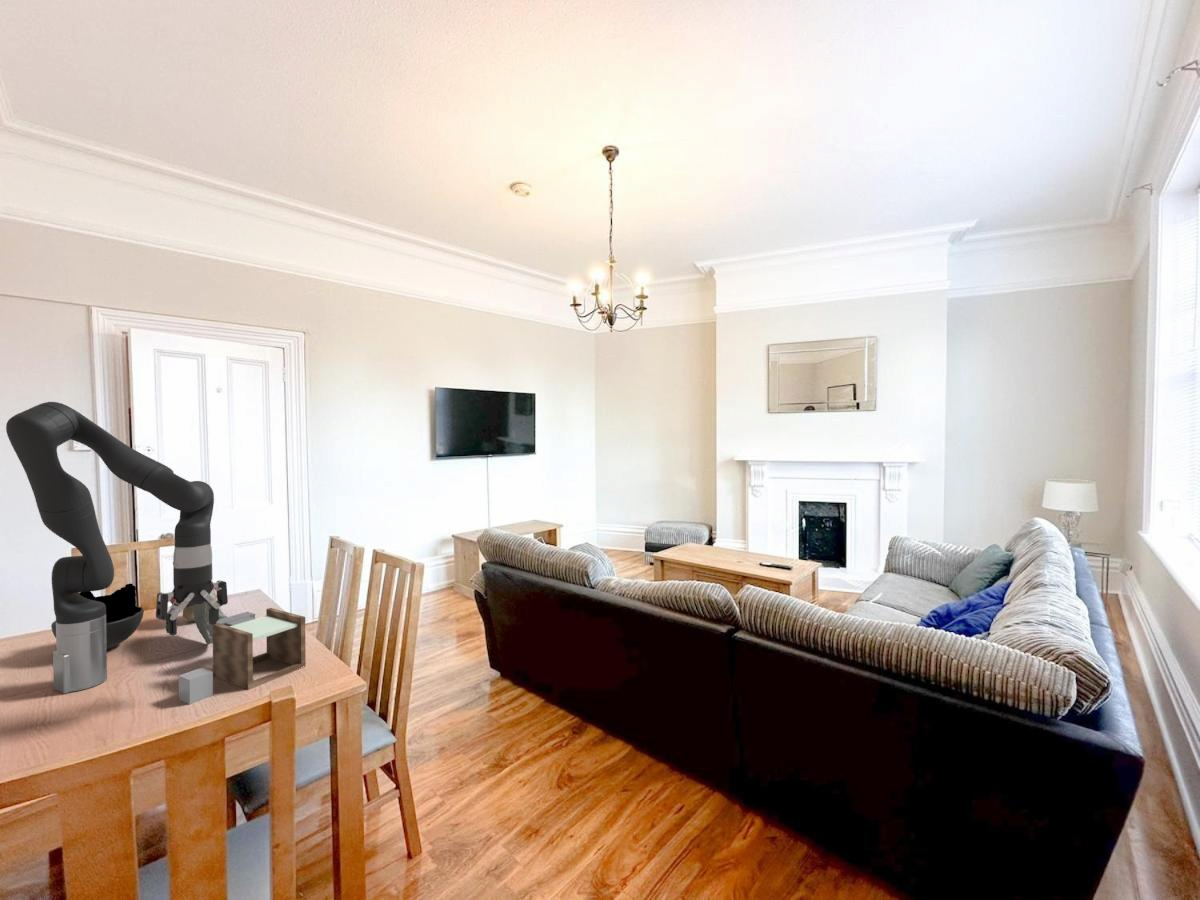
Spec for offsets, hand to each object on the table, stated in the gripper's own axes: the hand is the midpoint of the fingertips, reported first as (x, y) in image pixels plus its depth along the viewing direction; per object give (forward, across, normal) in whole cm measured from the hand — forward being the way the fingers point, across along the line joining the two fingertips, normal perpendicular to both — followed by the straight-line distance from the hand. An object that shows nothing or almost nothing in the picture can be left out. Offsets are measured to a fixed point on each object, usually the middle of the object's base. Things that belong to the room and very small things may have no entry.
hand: (193, 629), depth 129 cm
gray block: (+17, +1, 0) cm, 17 cm away
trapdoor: (+9, +16, +5) cm, 19 cm away
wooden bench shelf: (+17, +17, +1) cm, 24 cm away
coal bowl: (+17, +2, +57) cm, 60 cm away
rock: (+17, +19, +33) cm, 42 cm away
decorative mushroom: (+17, +28, +60) cm, 68 cm away
